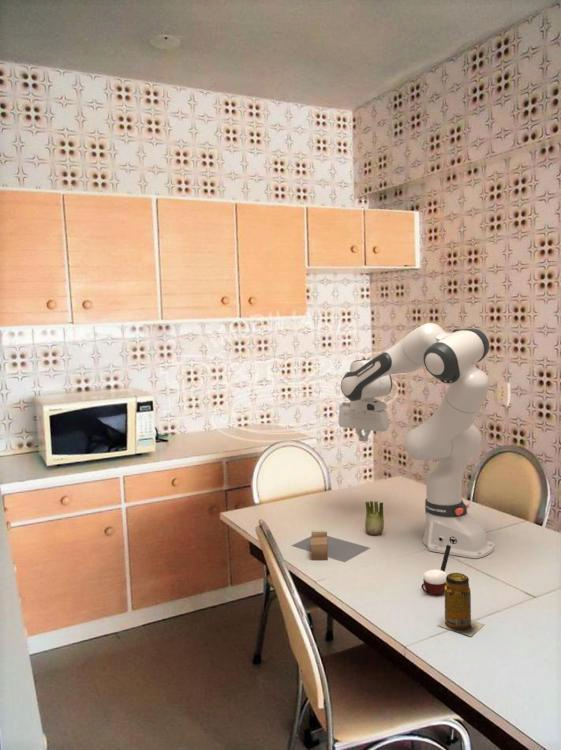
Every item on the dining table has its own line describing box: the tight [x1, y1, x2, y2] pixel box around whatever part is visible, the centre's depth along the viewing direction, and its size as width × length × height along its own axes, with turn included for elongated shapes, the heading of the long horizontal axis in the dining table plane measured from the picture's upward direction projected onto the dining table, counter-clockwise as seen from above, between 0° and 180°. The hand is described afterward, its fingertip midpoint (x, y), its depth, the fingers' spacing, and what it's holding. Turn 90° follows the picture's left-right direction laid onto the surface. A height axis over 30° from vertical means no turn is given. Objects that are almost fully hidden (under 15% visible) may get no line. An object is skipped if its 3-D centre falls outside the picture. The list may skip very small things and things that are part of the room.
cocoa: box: [421, 545, 451, 596], centre depth 162 cm, size 10×6×12 cm, turn 93°
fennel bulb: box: [364, 500, 385, 537], centre depth 206 cm, size 6×5×12 cm
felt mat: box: [291, 535, 371, 563], centre depth 197 cm, size 22×14×1 cm, turn 47°
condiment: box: [438, 572, 485, 637], centre depth 145 cm, size 7×8×12 cm
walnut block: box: [310, 529, 329, 561], centre depth 192 cm, size 5×5×12 cm
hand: (363, 441), depth 220 cm, fingers closed
